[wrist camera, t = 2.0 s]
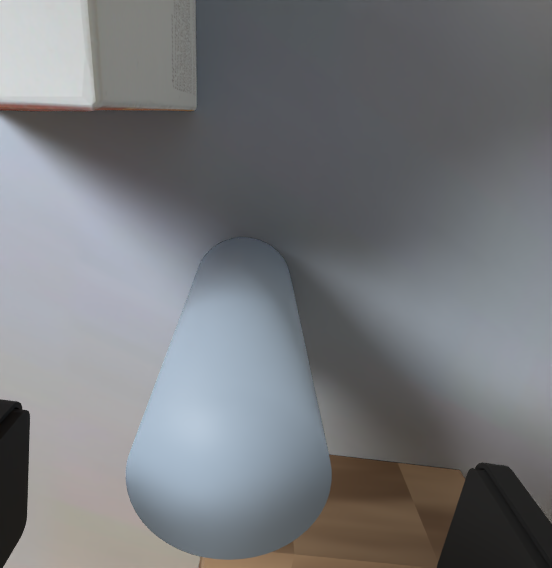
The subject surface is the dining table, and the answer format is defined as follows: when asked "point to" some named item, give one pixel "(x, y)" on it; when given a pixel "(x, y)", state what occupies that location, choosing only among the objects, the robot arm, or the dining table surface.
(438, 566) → the robot arm
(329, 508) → the socket block
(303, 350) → the peg
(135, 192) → the dining table surface
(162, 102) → the small box
